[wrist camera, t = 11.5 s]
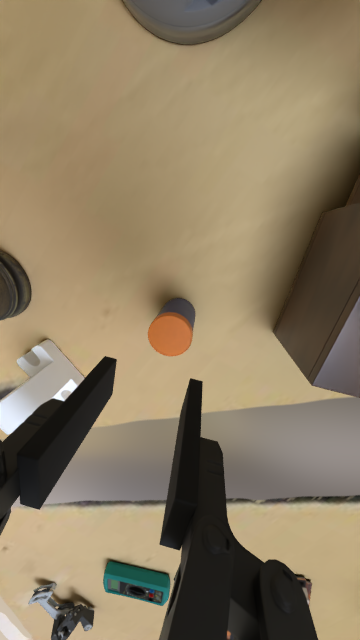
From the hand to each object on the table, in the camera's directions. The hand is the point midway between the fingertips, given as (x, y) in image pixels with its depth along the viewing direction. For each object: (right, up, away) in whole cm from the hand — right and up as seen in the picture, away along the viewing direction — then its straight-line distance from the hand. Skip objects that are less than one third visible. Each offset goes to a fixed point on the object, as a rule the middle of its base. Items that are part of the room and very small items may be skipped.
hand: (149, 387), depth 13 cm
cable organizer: (-16, -4, +19) cm, 25 cm away
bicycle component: (-28, -70, +44) cm, 87 cm away
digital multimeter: (-8, -55, +36) cm, 66 cm away
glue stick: (+2, +5, +14) cm, 15 cm away
